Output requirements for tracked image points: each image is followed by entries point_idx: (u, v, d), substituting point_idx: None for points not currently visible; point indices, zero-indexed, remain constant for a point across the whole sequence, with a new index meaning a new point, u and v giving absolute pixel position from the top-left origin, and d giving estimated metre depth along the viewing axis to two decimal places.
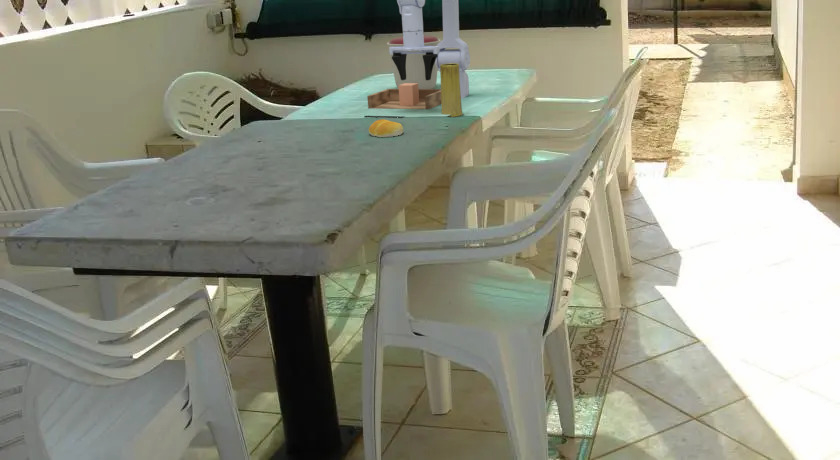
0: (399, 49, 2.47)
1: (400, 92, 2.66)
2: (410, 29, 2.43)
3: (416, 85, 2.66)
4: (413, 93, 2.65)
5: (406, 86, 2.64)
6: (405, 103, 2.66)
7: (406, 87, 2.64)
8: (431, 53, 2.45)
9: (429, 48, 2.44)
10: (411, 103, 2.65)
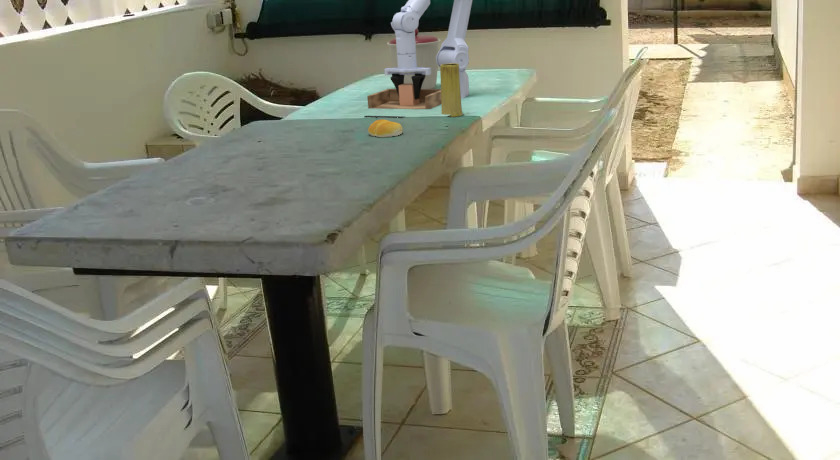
0: (393, 70, 2.65)
1: (400, 92, 2.66)
2: (399, 52, 2.62)
3: None
4: (413, 93, 2.65)
5: (406, 86, 2.64)
6: (405, 103, 2.66)
7: (406, 87, 2.64)
8: (423, 74, 2.62)
9: (421, 70, 2.62)
10: (411, 103, 2.65)
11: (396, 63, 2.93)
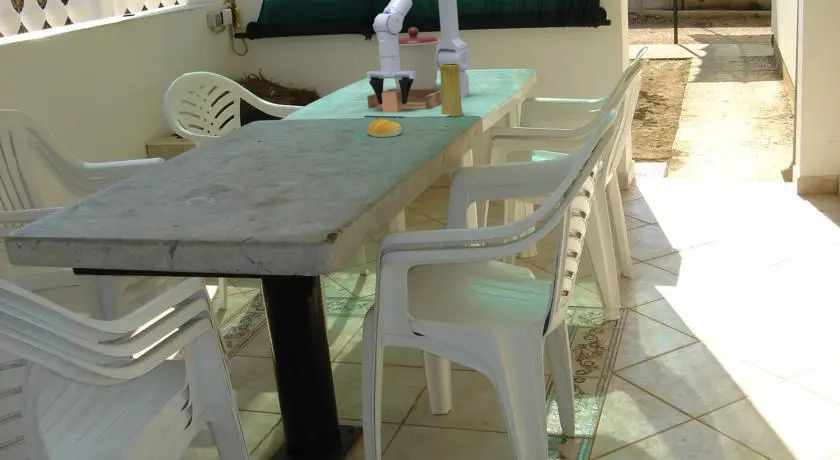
0: (376, 74, 2.55)
1: (383, 99, 2.56)
2: (383, 55, 2.51)
3: (400, 93, 2.56)
4: (397, 101, 2.55)
5: (390, 94, 2.54)
6: (389, 111, 2.56)
7: (389, 95, 2.55)
8: (407, 78, 2.52)
9: (405, 73, 2.52)
10: (395, 111, 2.55)
11: None
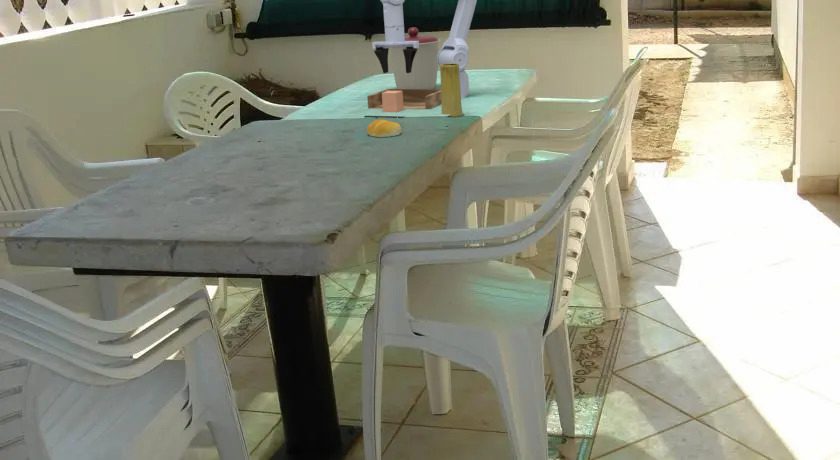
0: (381, 44, 2.63)
1: (383, 99, 2.56)
2: (386, 25, 2.60)
3: (400, 93, 2.56)
4: (397, 101, 2.55)
5: (390, 94, 2.54)
6: (389, 111, 2.56)
7: (389, 95, 2.55)
8: (411, 47, 2.60)
9: (409, 43, 2.60)
10: (395, 111, 2.55)
11: (396, 63, 2.93)
